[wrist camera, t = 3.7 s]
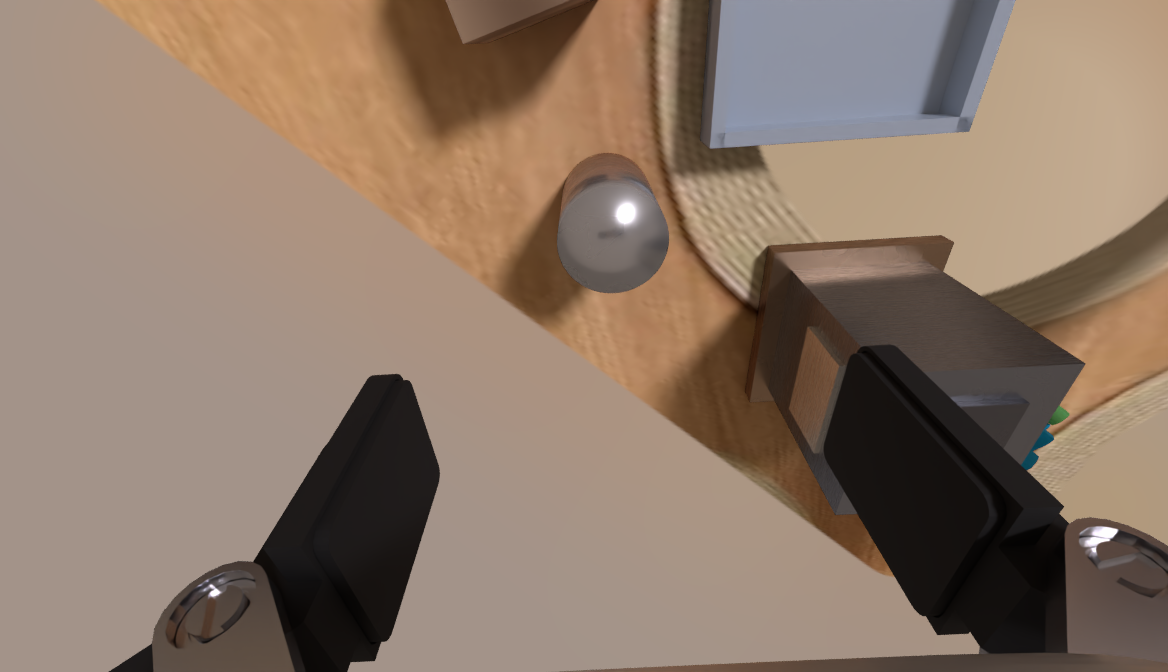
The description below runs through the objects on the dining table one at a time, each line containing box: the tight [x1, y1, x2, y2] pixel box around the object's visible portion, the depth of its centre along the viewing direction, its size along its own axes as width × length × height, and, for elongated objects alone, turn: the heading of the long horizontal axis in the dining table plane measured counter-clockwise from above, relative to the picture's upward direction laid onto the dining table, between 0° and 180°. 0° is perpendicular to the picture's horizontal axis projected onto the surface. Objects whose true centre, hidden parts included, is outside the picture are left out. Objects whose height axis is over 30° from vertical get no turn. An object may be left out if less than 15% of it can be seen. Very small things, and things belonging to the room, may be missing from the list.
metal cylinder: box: [557, 153, 669, 293], centre depth 21 cm, size 4×4×6 cm
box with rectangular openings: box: [745, 235, 1085, 515], centre depth 23 cm, size 9×10×10 cm
